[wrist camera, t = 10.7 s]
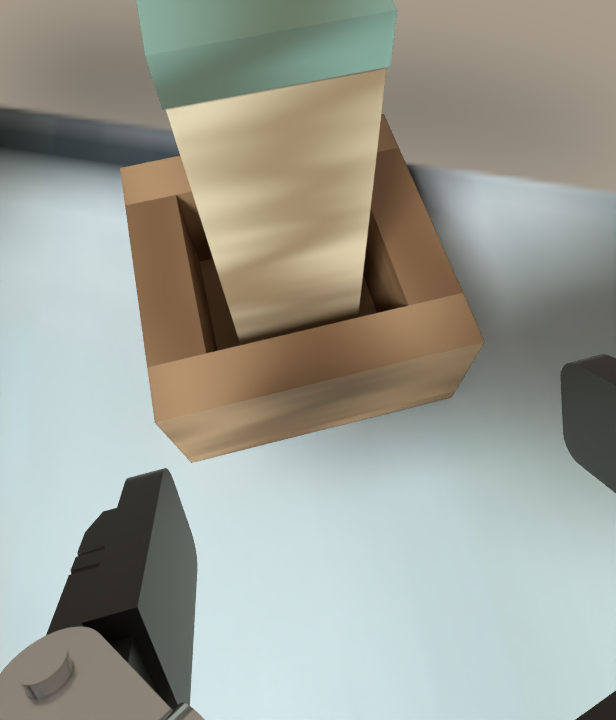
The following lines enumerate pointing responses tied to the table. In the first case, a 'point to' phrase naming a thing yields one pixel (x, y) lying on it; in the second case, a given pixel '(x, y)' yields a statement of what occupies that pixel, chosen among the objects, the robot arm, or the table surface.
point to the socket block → (300, 349)
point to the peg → (277, 144)
